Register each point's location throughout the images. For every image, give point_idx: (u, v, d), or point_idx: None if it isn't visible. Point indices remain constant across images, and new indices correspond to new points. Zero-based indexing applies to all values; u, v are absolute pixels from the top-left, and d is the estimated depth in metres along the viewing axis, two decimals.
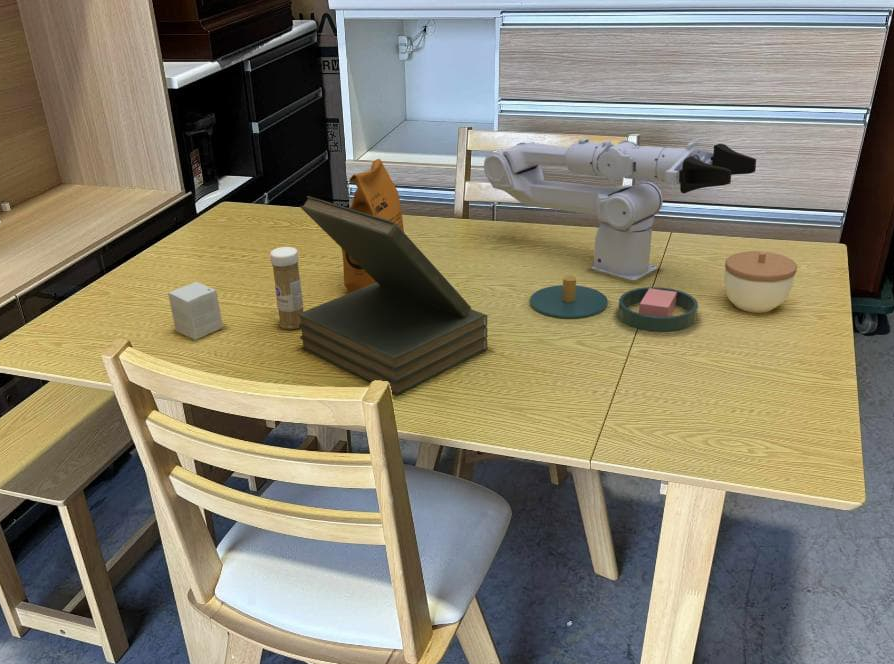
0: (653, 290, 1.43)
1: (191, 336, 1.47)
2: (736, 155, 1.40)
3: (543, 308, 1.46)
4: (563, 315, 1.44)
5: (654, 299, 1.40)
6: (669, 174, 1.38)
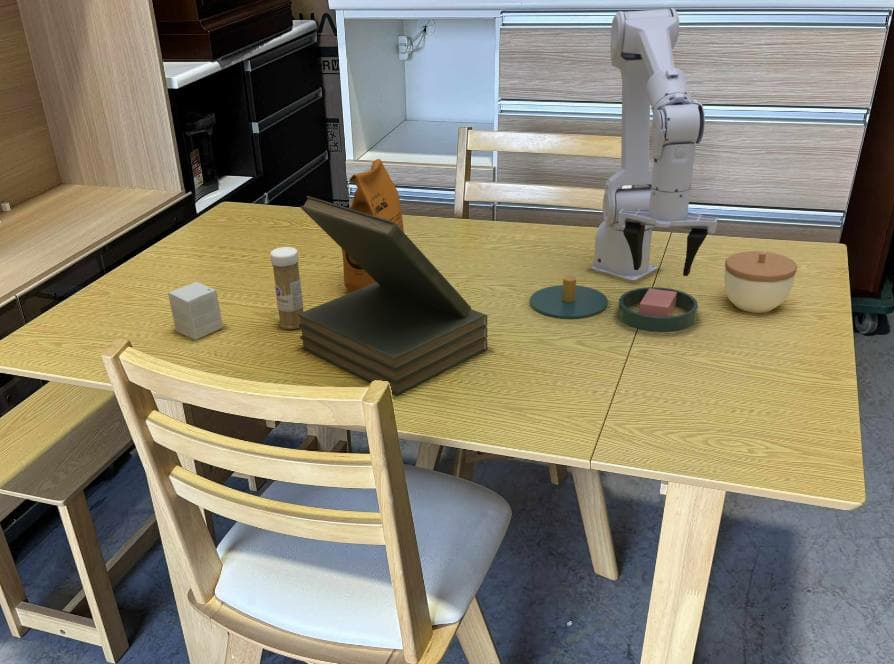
0: (653, 290, 1.43)
1: (191, 336, 1.47)
2: None
3: (543, 308, 1.46)
4: (563, 315, 1.44)
5: (654, 299, 1.40)
6: None
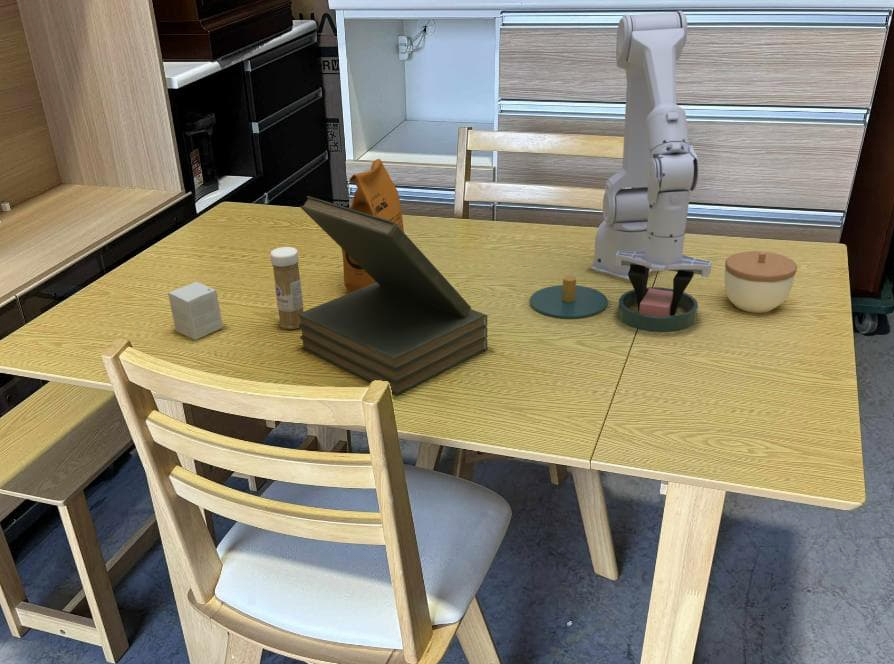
0: (653, 290, 1.43)
1: (191, 336, 1.47)
2: (672, 299, 1.38)
3: (543, 308, 1.46)
4: (563, 315, 1.44)
5: (654, 299, 1.40)
6: None
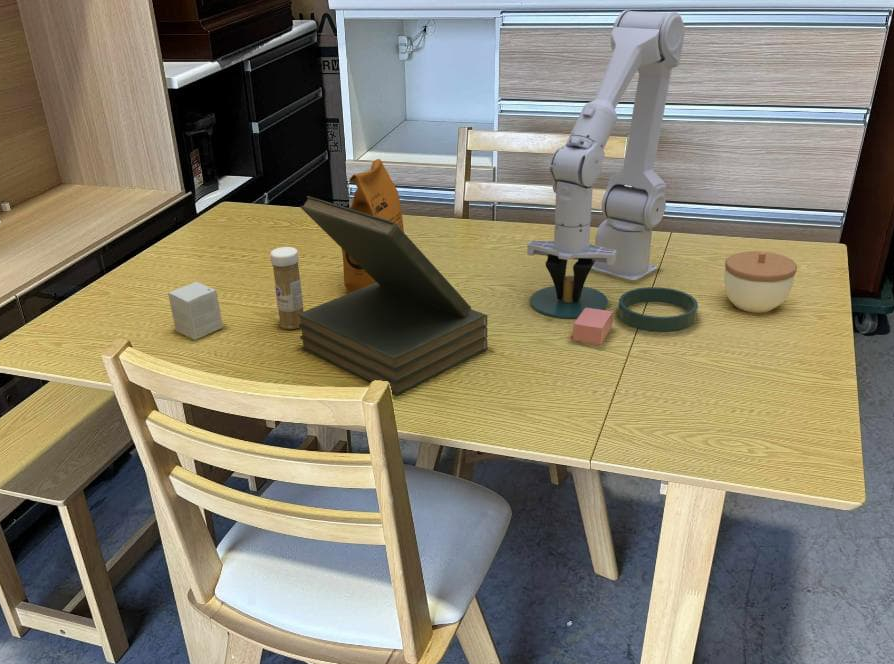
0: (589, 309, 1.39)
1: (191, 336, 1.47)
2: (574, 285, 1.45)
3: (543, 308, 1.46)
4: (563, 315, 1.44)
5: (588, 319, 1.37)
6: None
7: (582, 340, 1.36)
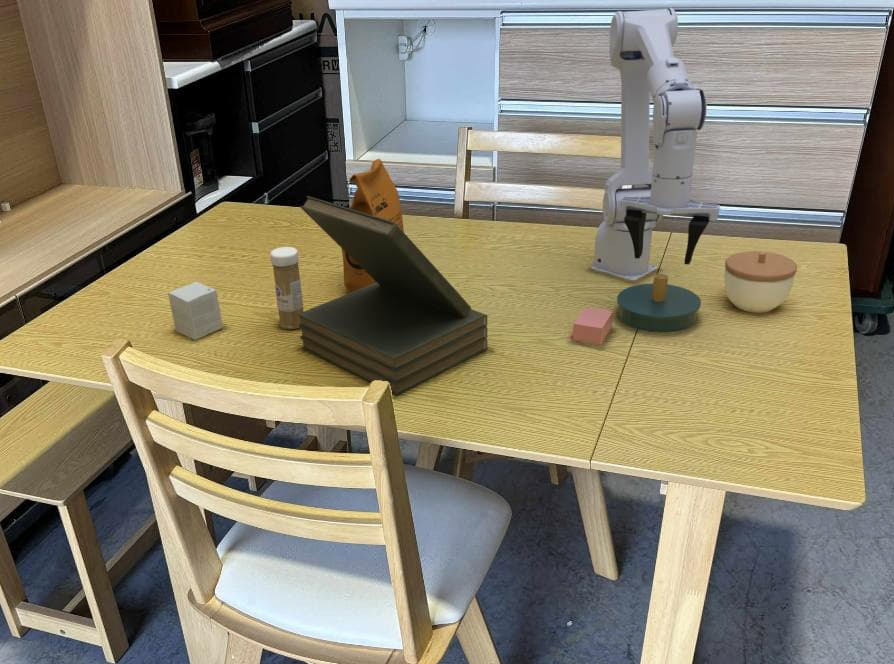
0: (589, 309, 1.39)
1: (191, 336, 1.47)
2: (687, 246, 1.33)
3: (633, 308, 1.39)
4: (656, 315, 1.36)
5: (588, 319, 1.37)
6: None
7: (582, 340, 1.36)
